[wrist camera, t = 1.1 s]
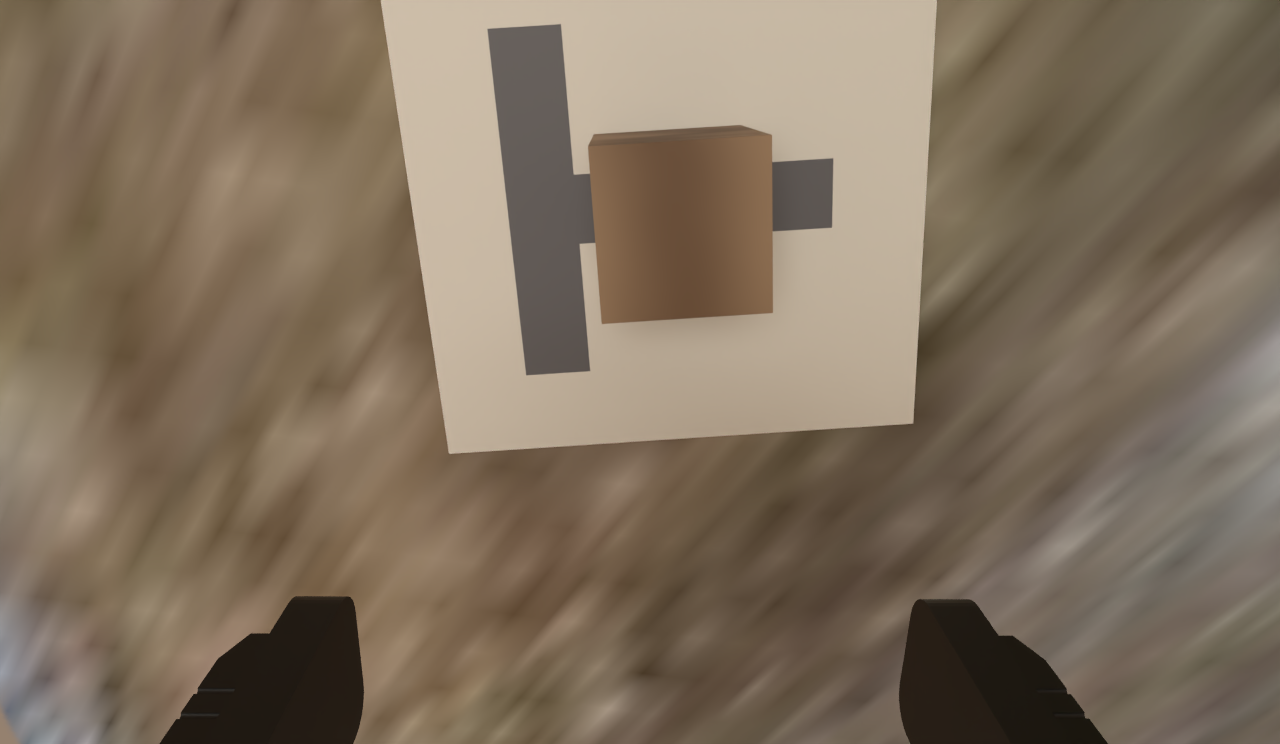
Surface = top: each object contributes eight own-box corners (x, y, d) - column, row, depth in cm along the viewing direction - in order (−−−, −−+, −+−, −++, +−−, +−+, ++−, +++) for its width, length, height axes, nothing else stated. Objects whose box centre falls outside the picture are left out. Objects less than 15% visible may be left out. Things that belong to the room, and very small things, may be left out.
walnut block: (740, 124, 28) (771, 134, 22) (742, 269, 29) (772, 312, 24) (593, 134, 28) (587, 146, 22) (604, 278, 29) (601, 323, 24)
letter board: (937, -101, 26) (942, -104, 26) (909, 419, 32) (913, 423, 32) (374, -66, 26) (370, -69, 26) (451, 449, 32) (448, 453, 32)
